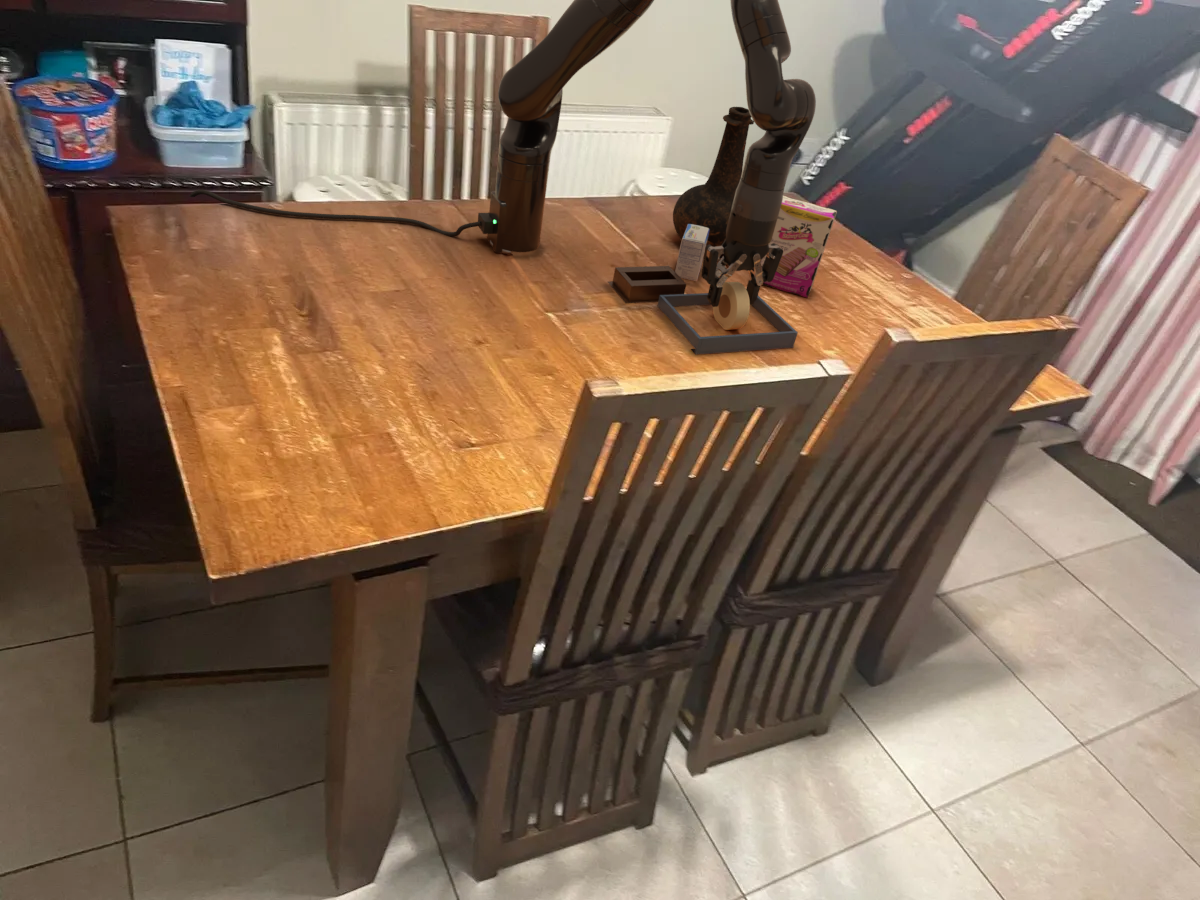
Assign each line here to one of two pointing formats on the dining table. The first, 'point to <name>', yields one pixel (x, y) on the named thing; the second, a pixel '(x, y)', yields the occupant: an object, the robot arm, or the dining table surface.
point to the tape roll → (732, 306)
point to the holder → (646, 283)
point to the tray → (728, 341)
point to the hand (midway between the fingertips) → (730, 303)
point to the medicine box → (692, 252)
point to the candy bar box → (800, 244)
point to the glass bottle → (717, 183)
